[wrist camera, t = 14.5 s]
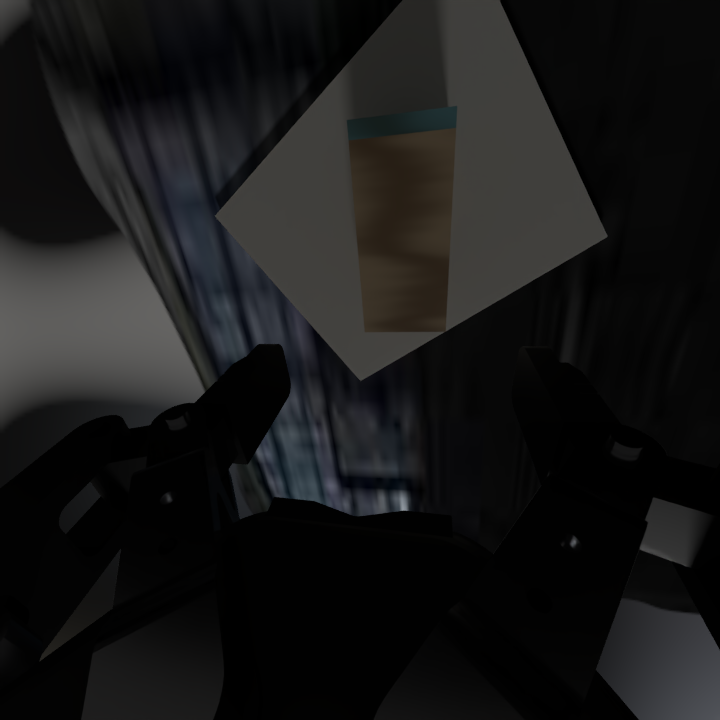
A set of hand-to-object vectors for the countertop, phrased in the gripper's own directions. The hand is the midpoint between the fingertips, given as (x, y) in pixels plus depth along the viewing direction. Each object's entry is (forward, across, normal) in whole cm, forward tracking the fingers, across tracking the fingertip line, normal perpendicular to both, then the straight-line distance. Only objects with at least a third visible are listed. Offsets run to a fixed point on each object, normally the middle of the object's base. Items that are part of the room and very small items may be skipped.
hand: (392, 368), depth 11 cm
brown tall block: (+12, 0, +3) cm, 12 cm away
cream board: (+15, +1, -3) cm, 15 cm away
